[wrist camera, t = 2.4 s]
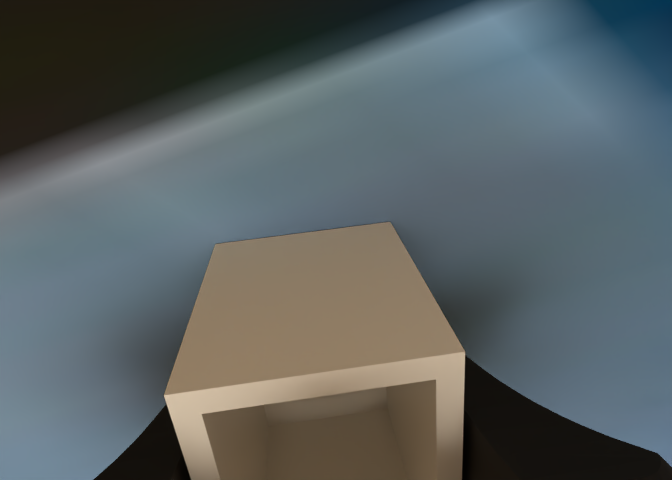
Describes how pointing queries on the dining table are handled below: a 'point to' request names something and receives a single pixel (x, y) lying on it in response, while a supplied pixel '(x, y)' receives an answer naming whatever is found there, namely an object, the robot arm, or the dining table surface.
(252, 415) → the small crate
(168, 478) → the robot arm
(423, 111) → the dining table surface
